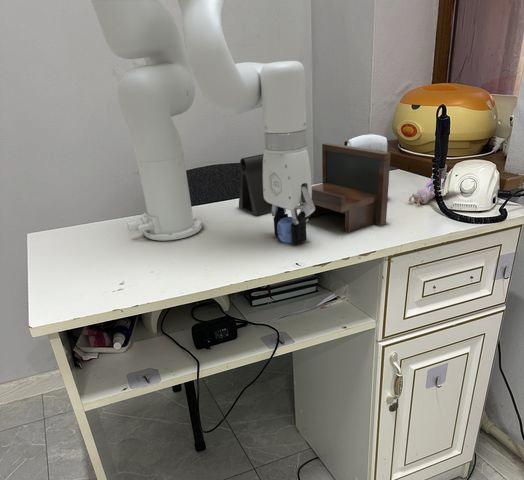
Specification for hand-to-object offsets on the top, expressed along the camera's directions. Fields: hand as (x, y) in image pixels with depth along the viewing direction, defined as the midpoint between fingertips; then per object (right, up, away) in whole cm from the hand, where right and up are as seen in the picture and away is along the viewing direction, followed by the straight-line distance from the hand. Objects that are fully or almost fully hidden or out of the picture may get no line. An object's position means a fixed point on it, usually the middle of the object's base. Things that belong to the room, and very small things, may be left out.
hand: (290, 237), depth 97 cm
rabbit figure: (+35, +13, +16) cm, 40 cm away
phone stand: (-6, +11, +19) cm, 23 cm away
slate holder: (+10, +5, +7) cm, 13 cm away
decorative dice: (0, -1, 0) cm, 1 cm away
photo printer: (+21, +20, +29) cm, 41 cm away
